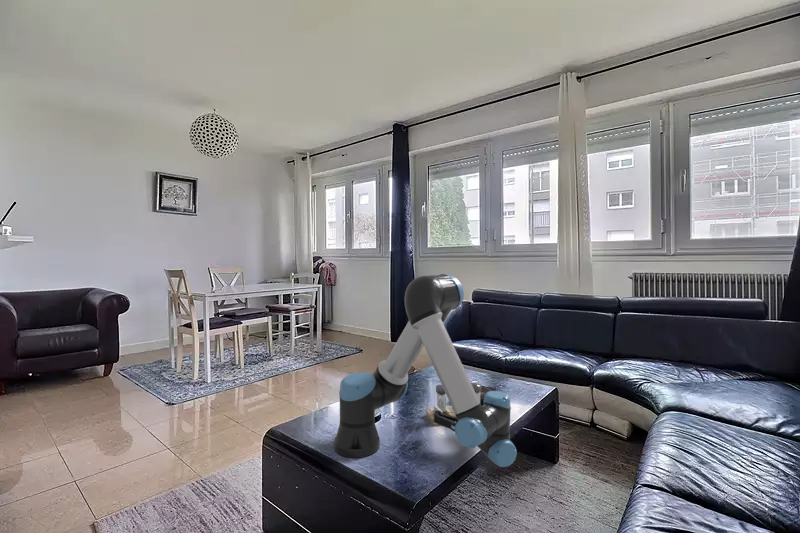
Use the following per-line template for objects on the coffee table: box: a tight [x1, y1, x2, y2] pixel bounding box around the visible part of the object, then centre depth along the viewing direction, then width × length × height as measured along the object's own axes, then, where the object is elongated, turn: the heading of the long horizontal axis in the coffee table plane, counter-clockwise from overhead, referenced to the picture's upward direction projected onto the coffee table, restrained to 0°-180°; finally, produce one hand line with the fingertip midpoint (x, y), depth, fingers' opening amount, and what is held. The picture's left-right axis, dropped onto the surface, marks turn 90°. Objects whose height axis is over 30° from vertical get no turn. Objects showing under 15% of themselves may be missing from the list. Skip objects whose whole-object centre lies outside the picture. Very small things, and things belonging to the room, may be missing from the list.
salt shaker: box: [435, 384, 447, 414], centre depth 156 cm, size 4×4×13 cm
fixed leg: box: [471, 382, 482, 402], centre depth 159 cm, size 4×4×13 cm
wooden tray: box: [425, 407, 456, 426], centre depth 158 cm, size 24×10×3 cm, turn 100°
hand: (451, 406), depth 147 cm, fingers open, 13 cm apart
